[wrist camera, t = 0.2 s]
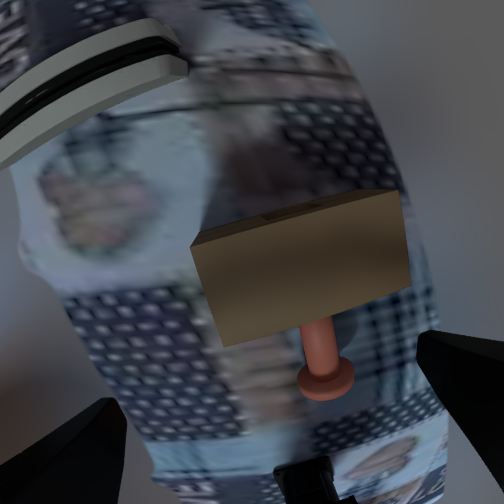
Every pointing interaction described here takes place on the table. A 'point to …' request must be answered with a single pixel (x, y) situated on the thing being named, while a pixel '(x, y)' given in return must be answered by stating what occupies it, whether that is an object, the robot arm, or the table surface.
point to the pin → (323, 363)
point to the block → (302, 262)
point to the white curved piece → (86, 83)
